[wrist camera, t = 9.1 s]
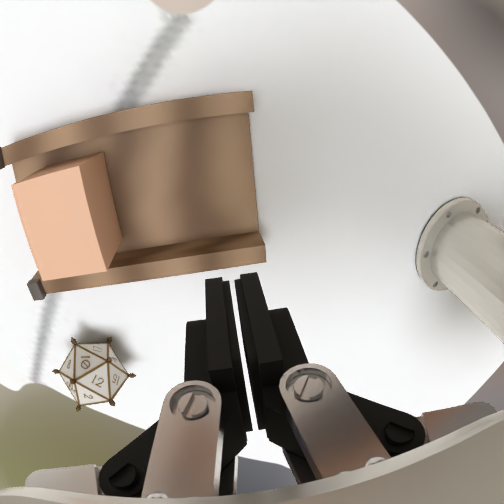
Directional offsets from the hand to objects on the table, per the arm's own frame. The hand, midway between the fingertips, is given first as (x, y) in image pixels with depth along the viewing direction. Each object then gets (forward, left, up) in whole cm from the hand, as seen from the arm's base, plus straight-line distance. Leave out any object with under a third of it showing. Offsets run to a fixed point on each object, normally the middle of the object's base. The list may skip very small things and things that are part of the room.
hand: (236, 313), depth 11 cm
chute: (+7, 0, -19) cm, 21 cm away
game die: (+16, +18, -19) cm, 31 cm away
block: (+12, 0, -18) cm, 21 cm away
